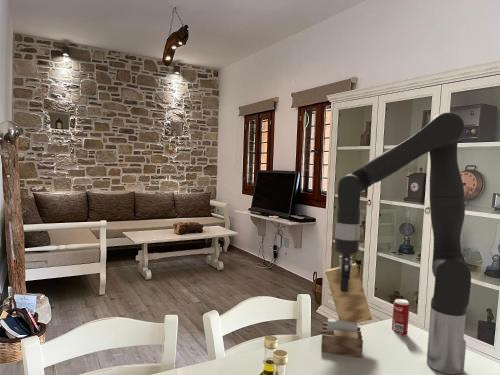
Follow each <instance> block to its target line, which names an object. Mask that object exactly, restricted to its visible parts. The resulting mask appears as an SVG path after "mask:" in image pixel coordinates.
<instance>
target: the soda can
mask: <svg viewBox="0 0 500 375" xmlns="http://www.w3.org/2000/svg"><path fill="white" fill-rule="evenodd" d="M392 308H393V309H392V323H391V330H392V331H393V332H396V333H398V334H401V336H402V338H405V337H407V336H408V330H409V329H408V328H409V320H410V319H409V318H410V317H409V316H410V304H409V301H408V300H406V299H402V298H395V299H394V302H393V307H392Z"/></svg>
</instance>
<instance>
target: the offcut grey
mask: <svg viewBox="0 0 500 375" xmlns="http://www.w3.org/2000/svg"><path fill="white" fill-rule="evenodd" d="M327 323H328V326H327V331H333V332H334V330H340V331H348V332H355V333H357V327H358V323H356V322H349V321H341V320H339V319H332V318H327Z"/></svg>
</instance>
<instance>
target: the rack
mask: <svg viewBox="0 0 500 375" xmlns="http://www.w3.org/2000/svg"><path fill="white" fill-rule="evenodd" d="M327 326H328V322H324V321H323V322H322V331H321V348H320V349H321V351H320V352H321V353H324V354H331V355H339V356H345V357H351V358H356V359H357V358H358V359H363V346H364V345H363V343H364V340H363V335H362V331H361V327H360V326H357V334H358V339H354V338H347V337H340V336H334V332H333V331H327Z"/></svg>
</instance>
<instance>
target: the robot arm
mask: <svg viewBox="0 0 500 375" xmlns="http://www.w3.org/2000/svg"><path fill="white" fill-rule="evenodd" d="M464 132H465V122H464V120H463V118H462V116H460V115H458V114H456V113H454V112H442V113H438V114H437V115H435V116H434V117H432V119H431V120H430V121H429V122H428V123H427V124H426V125H425V126H424V127H423V128H421V129H420V130H419V131H418V132H417V133H415V134H413V135H412V136H411V137H409V138H407V139H405V140H404V141H403V142H401V143H399V144H397V145H395V146H394V147H391V148H389V149H388V150H385V151H384V152H382V153H380V154H379V155H377V156H375V157H374V158H371V160H369V161H367V162H366V163H365V164H364V165H363V166H361V167H360V168H358V169H356V170H353V171H352V172H351V173H349V174H346V175H344V176H342V177H341V178H340V179H339V181H338V183H337V184H338V185H337V210H336V211H337V213H336V214H337V216H336V224H335V232H334V233H335V234H334V251H335V252H337V253H339V254H341V255H339V259H338V260H339V267H340V272H341V291H342V292H348V281H349V279H350V273H351V265H352V264H353V257H352V256H351V255H352V254H353V255H357V254H358V253H359V250H360V235H361V234H360V231H361V230H360V223H361V221H360V219H361V217H360V216H361V208H360V202H361V194H362V193H361V192H363V191H365V190H366V189H368V188H370V187H372V185H374V184H376V183H379V182H381V181H383V180H385V179H386V178H388V177H390V176H392V175H393V174H395V173H397V172H398V171H399V170H401V169H402V168H404V167H406V166H407V165H409V164H410V163H412V162H413V161H414V160H417V159H418V158H420V157H422V156H424V155H425V154H427V153H429V161H430V163H429V164H430V169H429V209H430V210H429V211H430V221H431V227H432V236H433V246H432V247H433V250H432V263H431V270H432V274H433V277H434V288H433V296H432V298H431V301H430V309H429V310H430V311H429V322H428V323H429V324H428V326H429V327H428V328H429V329H428V339H427V341H428V342H427V352H426V364H427V366H429V367H430V368H431V369H433V370H435V371H437V372H439V373H442V374H447V375H459V374H463V375H464V373H465V362H466V349H467V341H466V340H465V328H466V314H467V308H468V306H469V303H470V295H471V285H472V273H471V269H470V268H469V266H468V265H467V264H466V263H465V261H464V259H463V254H462V246H461V234H462V230H463V225H464V221H465V214H466V202H465V201H466V200H465V199H466V198H465V197H466V196H465V195H466V194H465V188H464V183H463V178H462V175H461V171H460V169H459V163H458V142H459V140H460V138H461V137H462V136H463V135H464V134H463V133H464ZM343 275H348V276H343Z"/></svg>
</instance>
